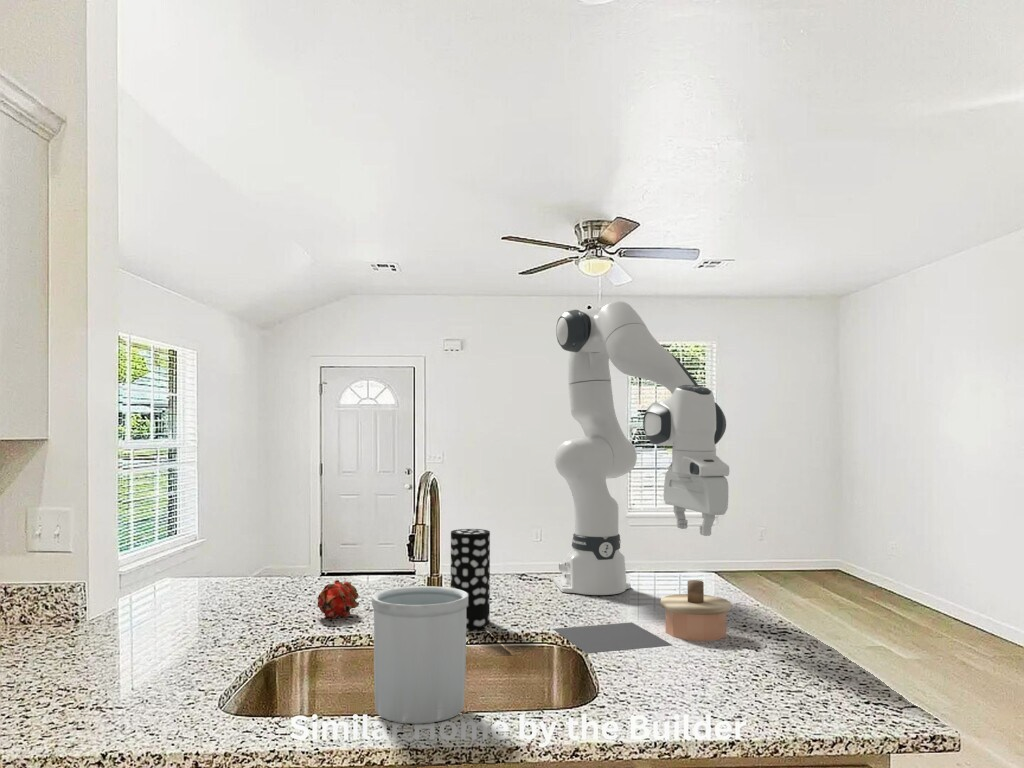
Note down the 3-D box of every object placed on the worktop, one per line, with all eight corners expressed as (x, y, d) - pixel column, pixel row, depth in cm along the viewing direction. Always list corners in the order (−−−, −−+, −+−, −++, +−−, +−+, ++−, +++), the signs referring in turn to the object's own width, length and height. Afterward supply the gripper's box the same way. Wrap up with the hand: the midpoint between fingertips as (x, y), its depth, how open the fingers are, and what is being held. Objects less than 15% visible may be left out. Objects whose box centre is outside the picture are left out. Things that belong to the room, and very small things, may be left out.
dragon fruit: (354, 617, 194) (328, 638, 183) (325, 594, 195) (298, 613, 184) (372, 589, 192) (348, 609, 180) (343, 566, 193) (317, 584, 182)
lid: (648, 601, 178) (648, 577, 178) (707, 596, 182) (707, 573, 182) (682, 617, 165) (682, 591, 165) (744, 611, 169) (744, 586, 169)
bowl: (655, 630, 177) (655, 602, 177) (706, 626, 181) (706, 598, 181) (684, 646, 166) (684, 615, 166) (737, 641, 169) (737, 611, 169)
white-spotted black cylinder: (484, 632, 175) (484, 535, 176) (445, 630, 177) (446, 533, 178) (493, 622, 184) (493, 529, 184) (456, 620, 185) (456, 528, 186)
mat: (552, 632, 175) (552, 628, 175) (631, 626, 181) (631, 622, 181) (586, 657, 158) (586, 652, 158) (672, 649, 164) (672, 645, 164)
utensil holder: (376, 692, 138) (376, 584, 139) (467, 691, 139) (468, 583, 140) (365, 727, 124) (366, 606, 124) (468, 725, 125) (468, 604, 125)
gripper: (656, 460, 184) (656, 524, 183) (705, 468, 164) (705, 540, 164) (682, 460, 185) (682, 523, 185) (734, 467, 166) (734, 538, 166)
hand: (693, 531), depth 174 cm, fingers open, 8 cm apart
